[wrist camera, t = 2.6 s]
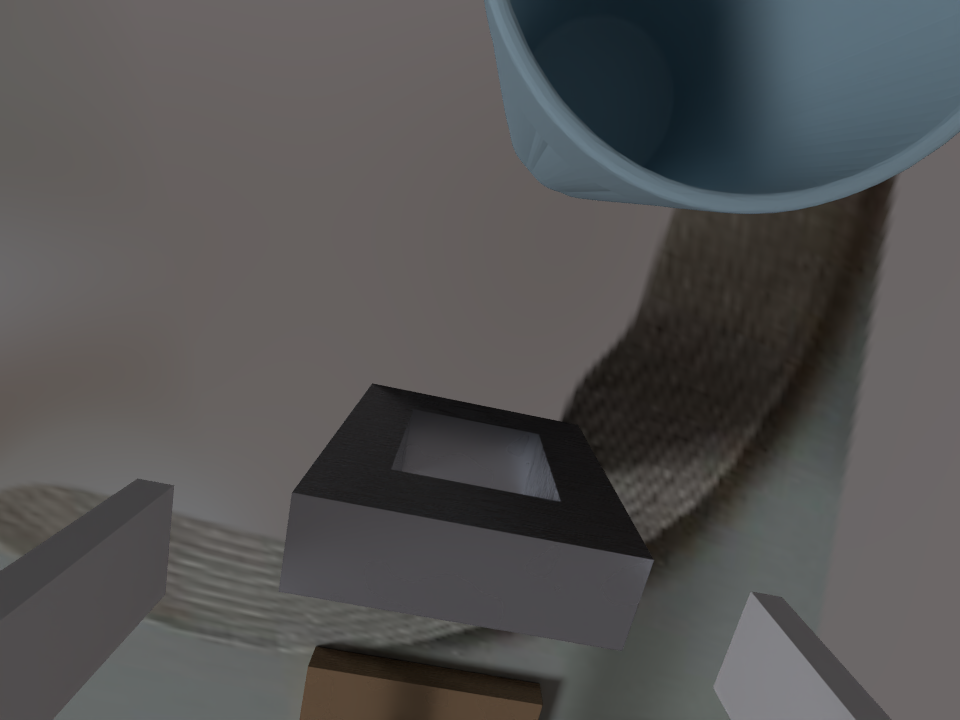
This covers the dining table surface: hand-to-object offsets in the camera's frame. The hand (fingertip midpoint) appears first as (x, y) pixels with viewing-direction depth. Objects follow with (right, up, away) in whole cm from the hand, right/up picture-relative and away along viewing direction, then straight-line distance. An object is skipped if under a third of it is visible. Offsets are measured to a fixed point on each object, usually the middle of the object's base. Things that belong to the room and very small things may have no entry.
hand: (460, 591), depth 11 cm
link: (0, +2, +8) cm, 8 cm away
